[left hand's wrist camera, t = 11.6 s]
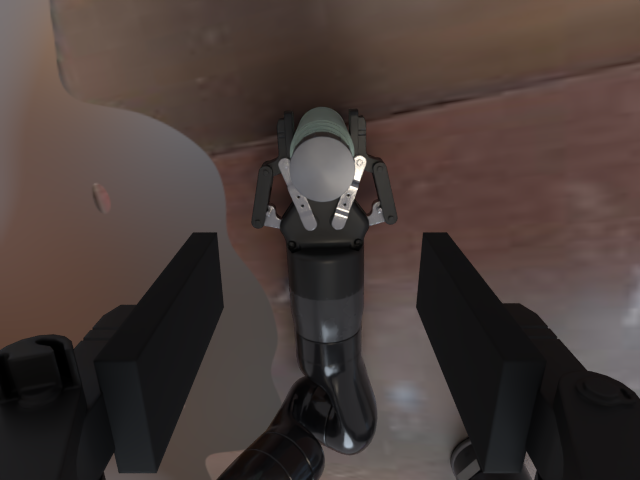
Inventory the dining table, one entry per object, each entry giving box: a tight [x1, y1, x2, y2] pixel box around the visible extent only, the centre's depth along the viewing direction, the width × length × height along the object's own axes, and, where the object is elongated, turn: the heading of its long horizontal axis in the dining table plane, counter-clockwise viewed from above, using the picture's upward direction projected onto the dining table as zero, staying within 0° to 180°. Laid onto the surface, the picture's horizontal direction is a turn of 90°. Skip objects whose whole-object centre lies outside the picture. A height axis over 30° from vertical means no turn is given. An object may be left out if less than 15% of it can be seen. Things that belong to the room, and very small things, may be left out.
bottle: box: [290, 107, 354, 158], centre depth 37 cm, size 5×5×18 cm
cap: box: [289, 131, 355, 202], centre depth 29 cm, size 4×4×2 cm
